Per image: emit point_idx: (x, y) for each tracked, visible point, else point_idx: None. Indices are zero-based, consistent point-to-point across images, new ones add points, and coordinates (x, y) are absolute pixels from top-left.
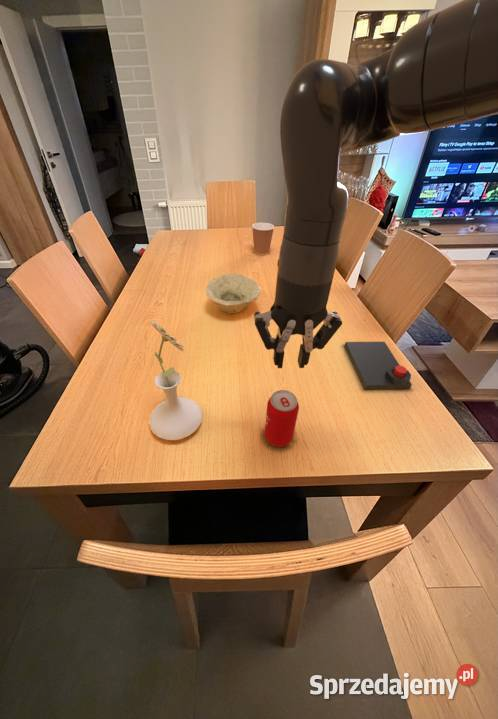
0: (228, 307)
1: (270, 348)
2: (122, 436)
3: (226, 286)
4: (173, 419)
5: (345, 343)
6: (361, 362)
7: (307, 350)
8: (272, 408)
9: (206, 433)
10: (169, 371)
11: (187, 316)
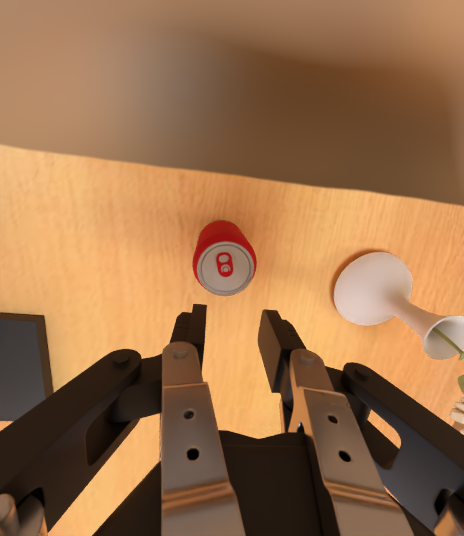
0: None
1: (350, 366)
2: (439, 271)
3: None
4: (391, 279)
5: None
6: (30, 373)
7: (186, 349)
8: (252, 255)
9: (327, 261)
10: None
11: None
